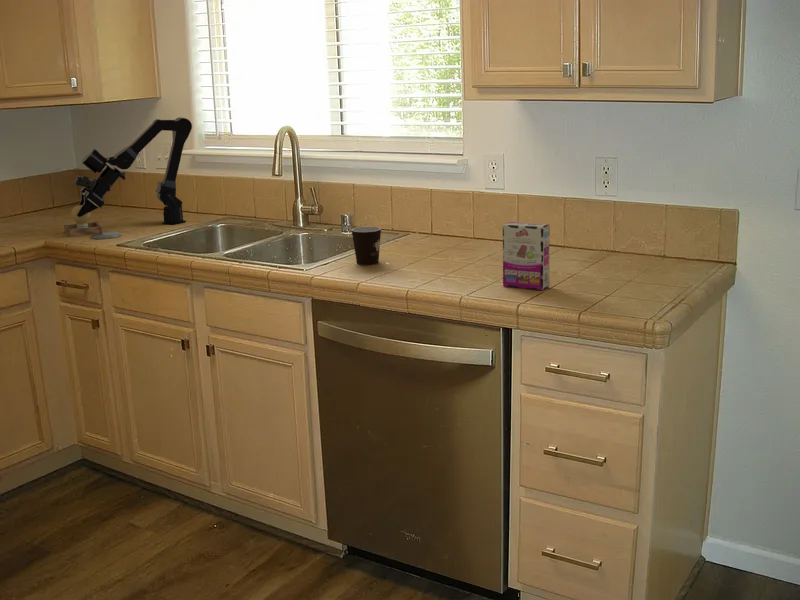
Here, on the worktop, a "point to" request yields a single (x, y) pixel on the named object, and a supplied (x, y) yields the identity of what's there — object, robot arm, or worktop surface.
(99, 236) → the slate coaster
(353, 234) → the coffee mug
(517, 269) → the candy bar box
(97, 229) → the walnut crate
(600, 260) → the worktop surface
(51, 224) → the worktop surface
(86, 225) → the light bulb
